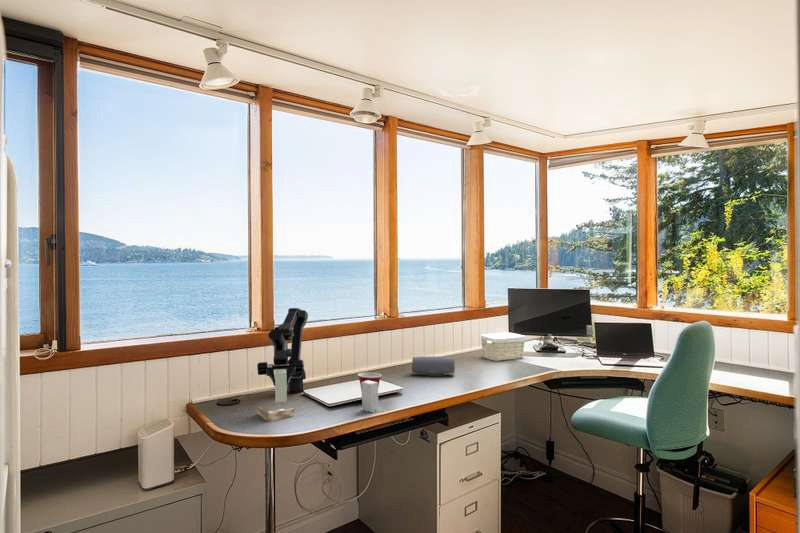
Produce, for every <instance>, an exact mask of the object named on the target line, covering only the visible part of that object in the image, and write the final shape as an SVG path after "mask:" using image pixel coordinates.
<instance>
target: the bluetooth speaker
mask: <svg viewBox="0 0 800 533" xmlns="http://www.w3.org/2000/svg"><path fill="white" fill-rule="evenodd" d="M455 368H456V367H455V357H451V356H413V357H412V365H411V371H412V372H411V373H414V374H421V375H424V376H427V375H428V376H432V377H433V376H437V377H438V376H439V377H443V376H444V375H445V374H446V375H450V374H455Z"/></svg>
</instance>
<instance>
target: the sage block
mask: <svg viewBox="0 0 800 533" xmlns="http://www.w3.org/2000/svg"><path fill="white" fill-rule="evenodd" d="M274 376H275V386H274V388H275V389H274V390H275V392H274V395H275V403H286V402H287V401H288V391H287V370H285V369H282V370H274Z"/></svg>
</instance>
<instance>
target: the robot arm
mask: <svg viewBox="0 0 800 533" xmlns="http://www.w3.org/2000/svg"><path fill="white" fill-rule="evenodd" d="M308 319H309V314H308V312H307V311H306V310H304V309H301V308H298V307H290V308H288V310H287V314H286V316H285V318H284V320H283V323H281V324H280V325H277V326H274V328H273V329H272V330H270V331H269V332H268V338H269V341H270V343H271V346H272V347H273V364H272V363H268V361H264V362H262V361H261V362H257V364H256V365H257V366H256V367H257V375H258V376H261V375H262V376H263V375H264V376H265V375H266V376H267V377H269V378H270V379H271V381H272V384H273V387H275V370H287V393H290V394H291V395H292V394H293V395H294V394H298V393H303V392H302V391H304V390H305V389H304V380H305V379H307V376H306V371H305V368H304V367H305V362H304V360H303V359H301V353H302V352H301V351H302V350H301V349H302V340H303V339H302V338H303V328H305V326H306V324H307V322H308V321H307V320H308ZM288 342H291V346H290V347H291V348H288V344H289V343H288Z"/></svg>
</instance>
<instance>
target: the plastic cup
mask: <svg viewBox="0 0 800 533" xmlns="http://www.w3.org/2000/svg"><path fill="white" fill-rule="evenodd" d="M357 376H358V379H359V383H360V384H359V385H360V390H361V392H362V386H361V382H363V381H367V380H369V381H374V382H378V387H379V384H380V380H381V377H382V374H381V373H378V372H361V373H358V374H357Z"/></svg>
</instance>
